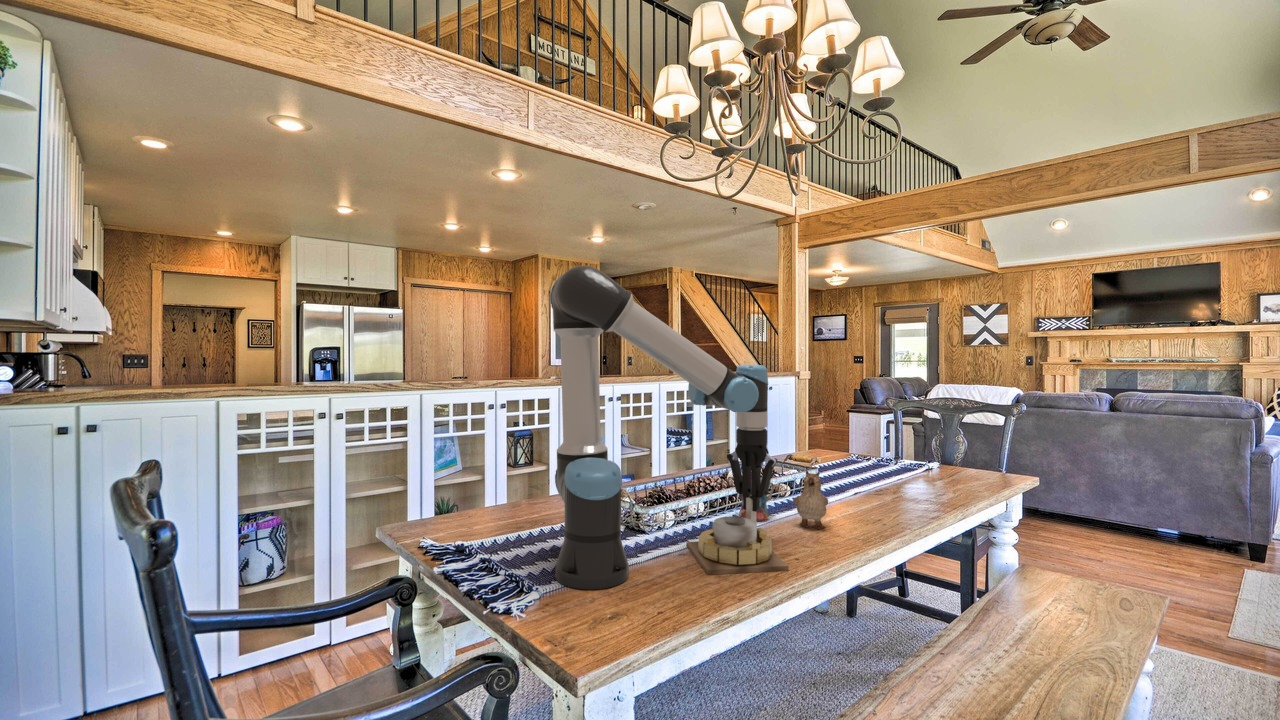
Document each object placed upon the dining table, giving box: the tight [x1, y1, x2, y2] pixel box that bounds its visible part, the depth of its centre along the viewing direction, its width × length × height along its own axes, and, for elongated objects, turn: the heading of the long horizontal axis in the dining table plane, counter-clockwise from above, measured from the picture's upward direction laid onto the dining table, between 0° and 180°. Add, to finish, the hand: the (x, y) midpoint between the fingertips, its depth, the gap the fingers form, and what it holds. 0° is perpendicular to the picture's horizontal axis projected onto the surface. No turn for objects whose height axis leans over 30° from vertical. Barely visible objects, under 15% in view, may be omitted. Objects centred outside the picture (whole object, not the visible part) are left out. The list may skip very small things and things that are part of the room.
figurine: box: [792, 470, 829, 530], centre depth 160 cm, size 9×10×15 cm
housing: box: [685, 516, 789, 576], centre depth 136 cm, size 18×19×9 cm
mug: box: [738, 476, 775, 521], centre depth 168 cm, size 12×9×11 cm
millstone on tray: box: [698, 509, 773, 565], centre depth 139 cm, size 24×16×6 cm
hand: (751, 523), depth 147 cm, fingers closed
